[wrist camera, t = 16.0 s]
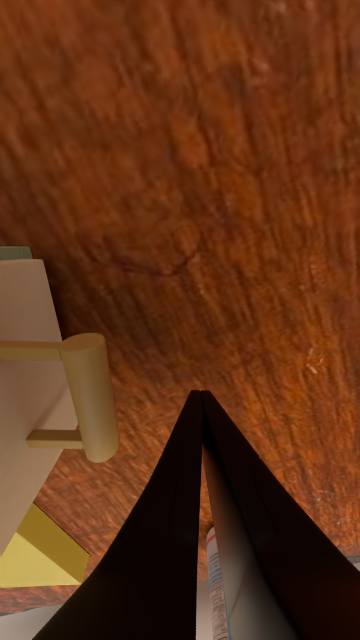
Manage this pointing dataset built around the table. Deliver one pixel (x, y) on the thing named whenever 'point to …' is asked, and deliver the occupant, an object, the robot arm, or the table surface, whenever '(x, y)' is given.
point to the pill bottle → (217, 591)
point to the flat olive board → (41, 554)
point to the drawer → (45, 392)
